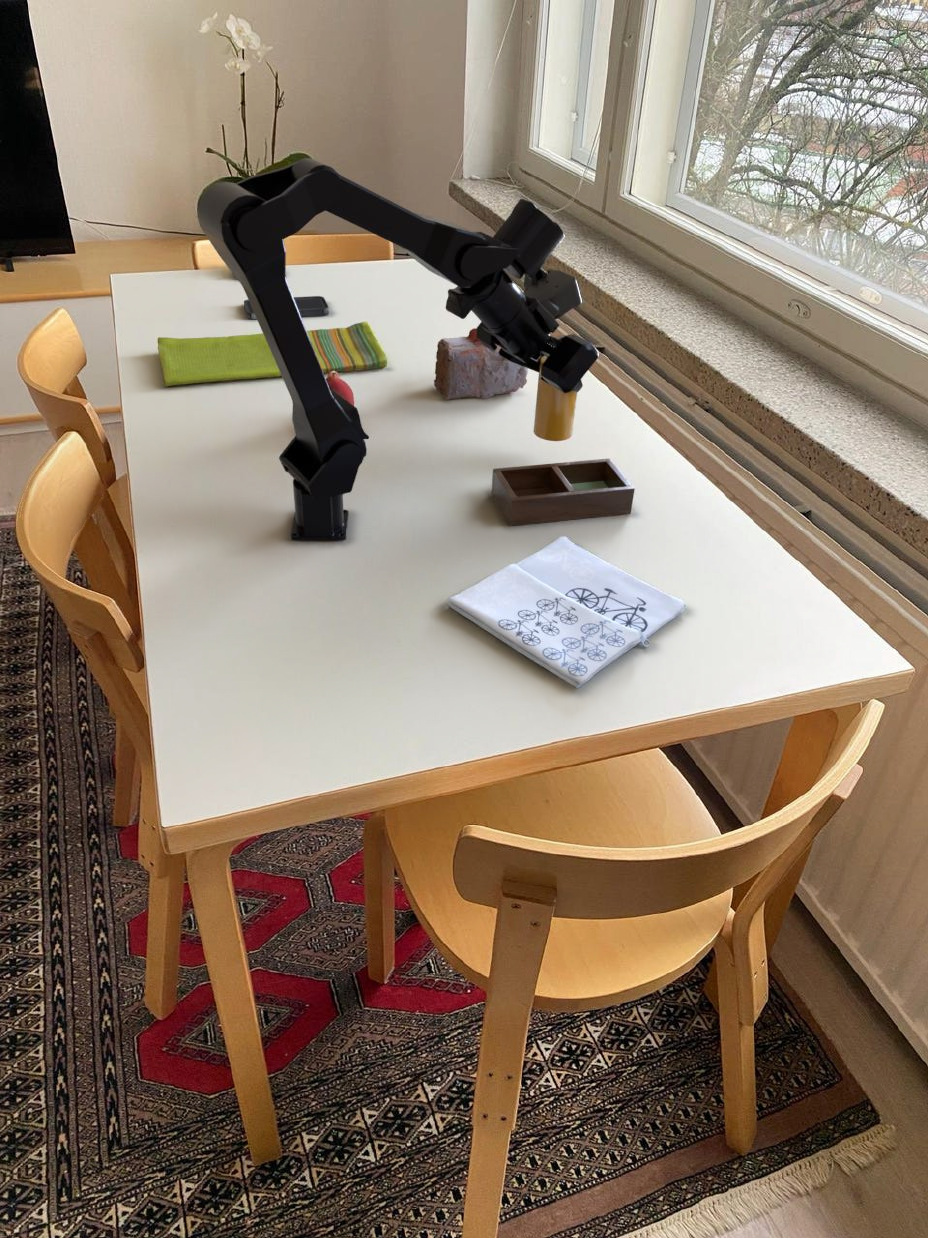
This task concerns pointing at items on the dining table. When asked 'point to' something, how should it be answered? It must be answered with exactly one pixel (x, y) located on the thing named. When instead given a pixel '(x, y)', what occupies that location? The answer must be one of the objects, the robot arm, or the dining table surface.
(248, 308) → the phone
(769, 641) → the dining table surface
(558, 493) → the brown divided tray
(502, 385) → the red crystal topped stone
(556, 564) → the folded bicycle print cloth
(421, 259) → the robot arm
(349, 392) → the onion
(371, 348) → the dish towel
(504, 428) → the dining table surface
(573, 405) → the bottle
